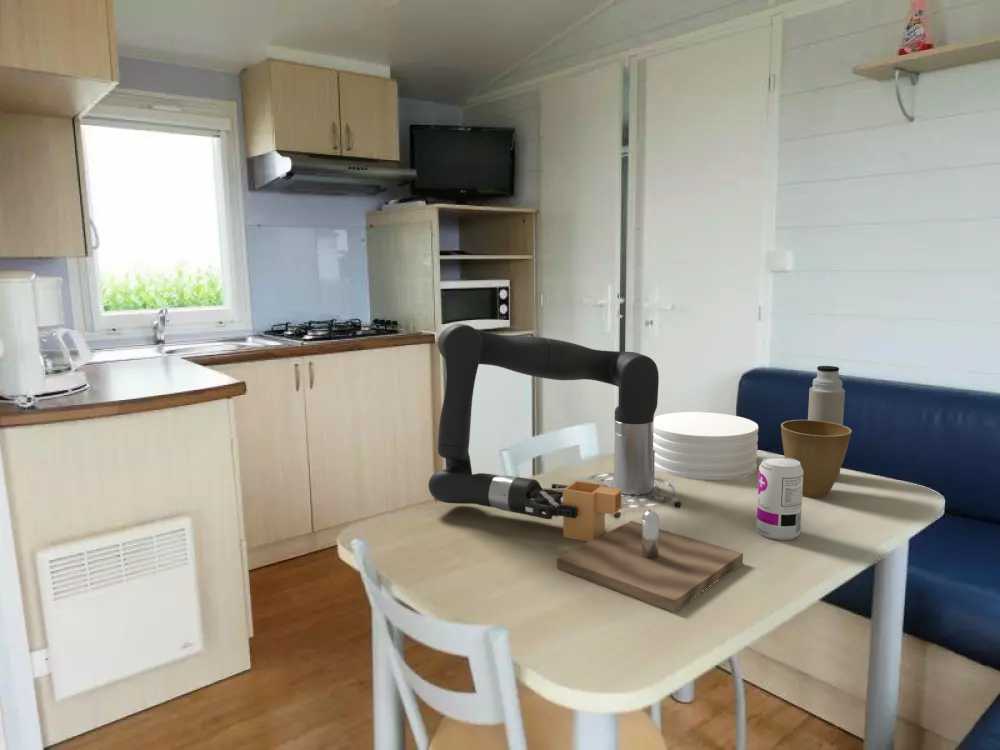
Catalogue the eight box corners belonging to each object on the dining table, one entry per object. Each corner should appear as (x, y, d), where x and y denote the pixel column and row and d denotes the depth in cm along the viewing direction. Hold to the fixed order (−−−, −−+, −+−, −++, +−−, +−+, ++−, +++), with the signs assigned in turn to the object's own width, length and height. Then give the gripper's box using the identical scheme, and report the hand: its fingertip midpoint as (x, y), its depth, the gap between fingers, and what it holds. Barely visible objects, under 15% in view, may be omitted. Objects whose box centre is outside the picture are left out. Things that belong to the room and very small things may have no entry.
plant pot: (771, 496, 162) (774, 429, 159) (785, 479, 174) (788, 417, 171) (842, 508, 153) (846, 438, 151) (851, 489, 166) (855, 423, 163)
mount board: (631, 530, 143) (631, 520, 143) (742, 563, 127) (742, 553, 127) (557, 568, 127) (556, 557, 126) (674, 612, 110) (674, 600, 110)
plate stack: (693, 486, 170) (694, 441, 168) (628, 458, 196) (629, 418, 194) (780, 471, 181) (782, 428, 179) (708, 445, 207) (709, 408, 205)
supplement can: (756, 538, 138) (759, 465, 135) (756, 523, 146) (759, 454, 143) (800, 543, 135) (804, 469, 133) (798, 528, 143) (802, 457, 140)
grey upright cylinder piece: (647, 550, 128) (648, 506, 127) (661, 555, 126) (662, 510, 125) (638, 555, 126) (639, 511, 125) (652, 560, 124) (653, 515, 123)
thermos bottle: (830, 470, 180) (837, 363, 176) (845, 480, 172) (852, 368, 168) (799, 471, 180) (805, 364, 176) (813, 480, 172) (819, 369, 168)
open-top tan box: (563, 536, 141) (563, 489, 139) (575, 526, 146) (575, 480, 145) (612, 546, 136) (612, 497, 134) (623, 534, 141) (623, 487, 140)
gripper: (498, 487, 142) (571, 499, 134) (529, 468, 154) (598, 478, 146) (498, 522, 143) (571, 535, 135) (530, 500, 155) (598, 512, 148)
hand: (585, 506), depth 141 cm, fingers open, 8 cm apart
